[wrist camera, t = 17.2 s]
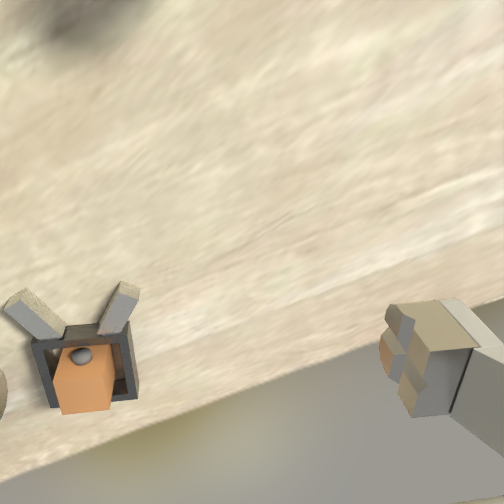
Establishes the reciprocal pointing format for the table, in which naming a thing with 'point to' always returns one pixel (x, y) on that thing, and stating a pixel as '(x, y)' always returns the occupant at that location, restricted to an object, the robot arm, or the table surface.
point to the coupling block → (85, 379)
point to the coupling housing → (79, 336)
